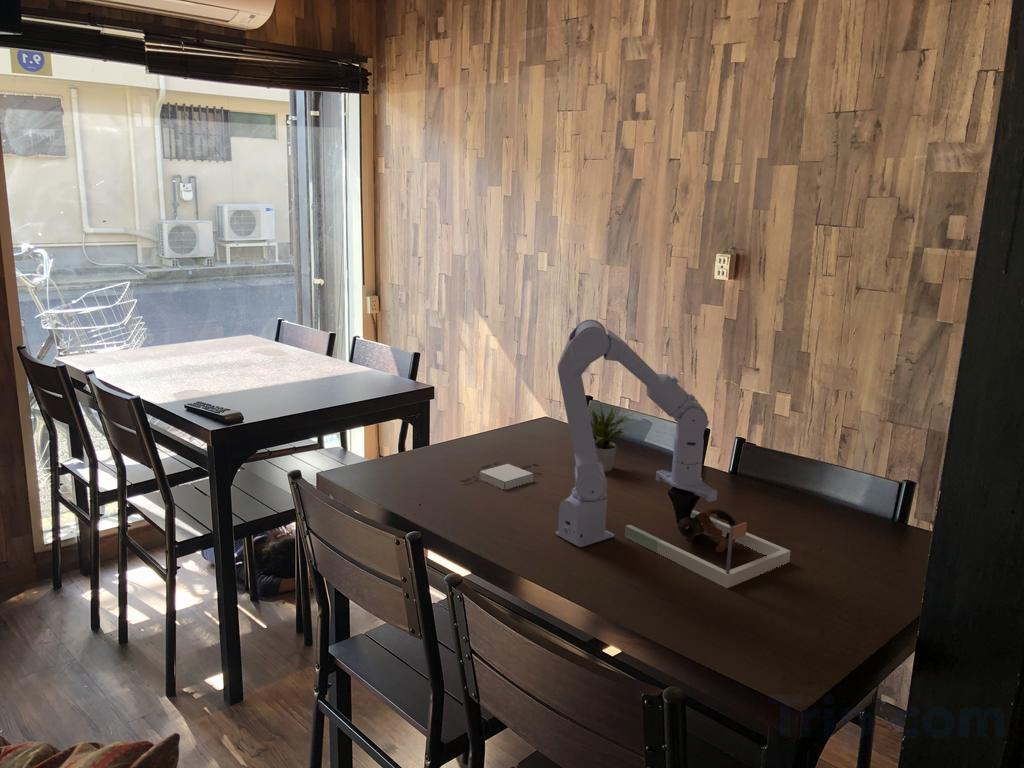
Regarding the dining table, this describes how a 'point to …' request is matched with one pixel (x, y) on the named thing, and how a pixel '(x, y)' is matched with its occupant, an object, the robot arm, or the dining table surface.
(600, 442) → the house plant
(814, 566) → the dining table surface
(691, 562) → the open rectangular rail frame
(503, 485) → the container
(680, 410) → the robot arm
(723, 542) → the brown piece
